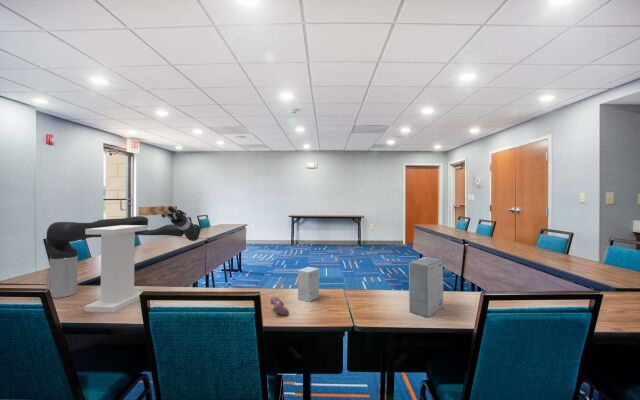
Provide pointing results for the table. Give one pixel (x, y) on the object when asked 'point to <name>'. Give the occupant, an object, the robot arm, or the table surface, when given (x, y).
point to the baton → (155, 210)
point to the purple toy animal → (279, 306)
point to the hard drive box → (425, 286)
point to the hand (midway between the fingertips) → (165, 207)
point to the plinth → (116, 267)
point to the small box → (308, 284)
